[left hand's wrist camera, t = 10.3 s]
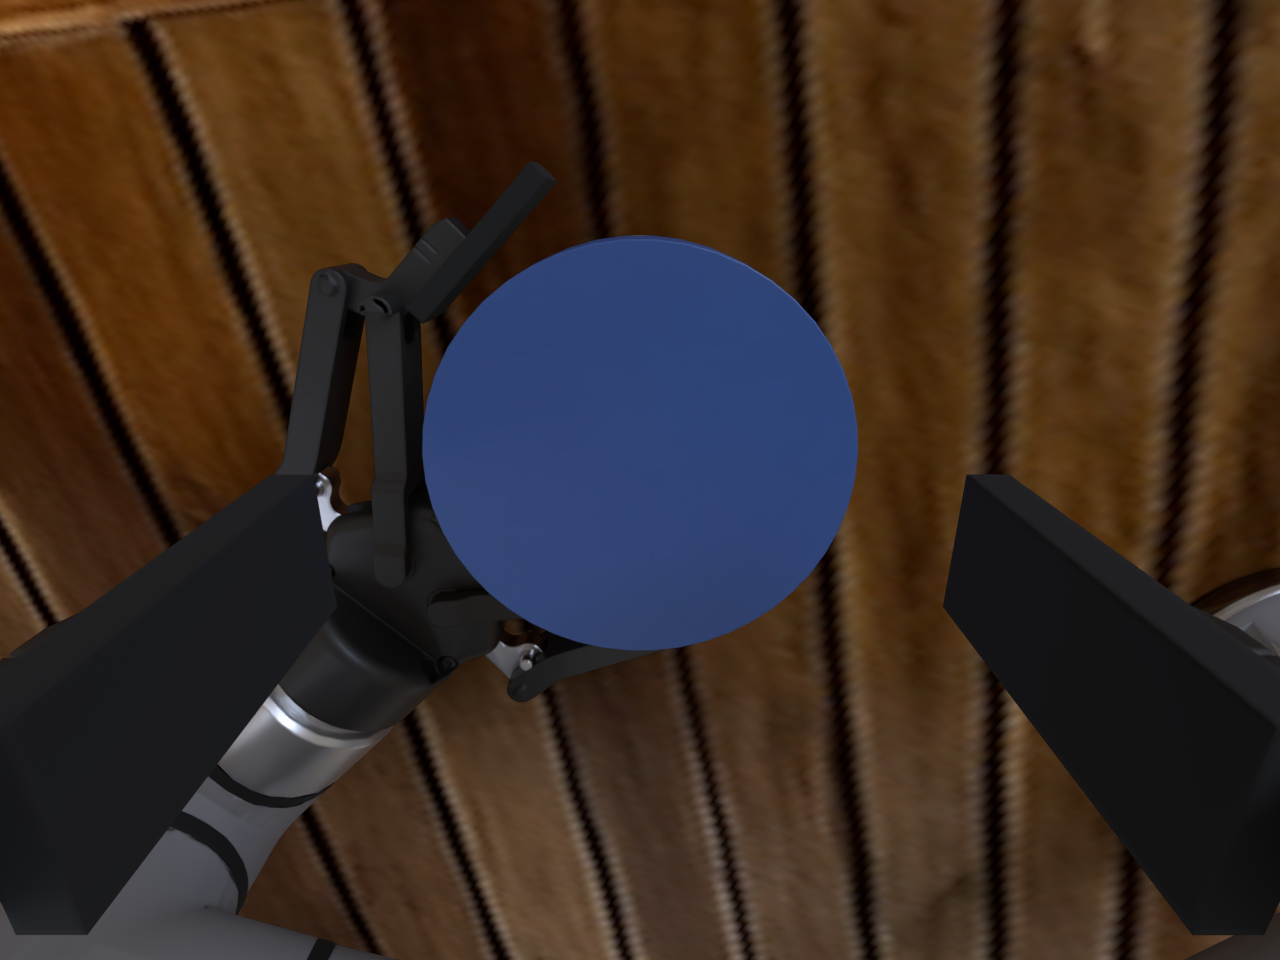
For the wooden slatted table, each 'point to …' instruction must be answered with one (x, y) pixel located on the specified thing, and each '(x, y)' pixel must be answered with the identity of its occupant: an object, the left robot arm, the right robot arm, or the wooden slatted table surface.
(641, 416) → the lid
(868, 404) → the wooden slatted table surface
